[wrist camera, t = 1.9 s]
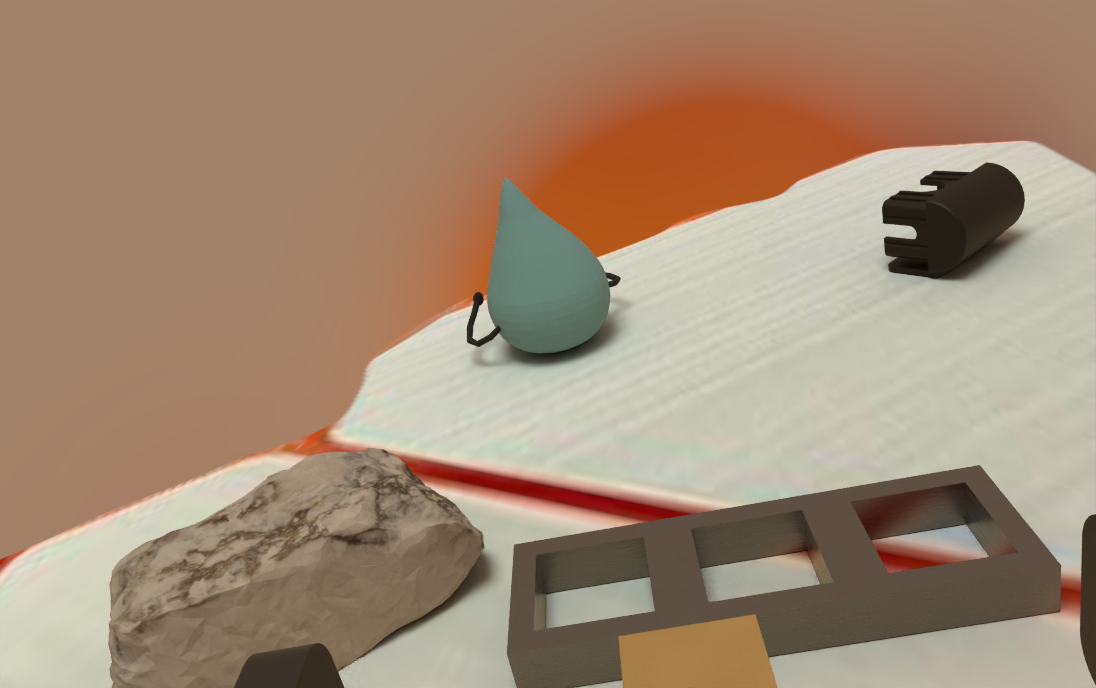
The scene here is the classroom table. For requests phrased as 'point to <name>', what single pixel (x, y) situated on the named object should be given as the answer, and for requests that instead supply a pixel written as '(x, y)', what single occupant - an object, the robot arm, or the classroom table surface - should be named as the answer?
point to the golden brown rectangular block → (698, 656)
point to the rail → (797, 614)
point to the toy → (541, 282)
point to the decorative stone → (288, 572)
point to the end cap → (951, 218)
